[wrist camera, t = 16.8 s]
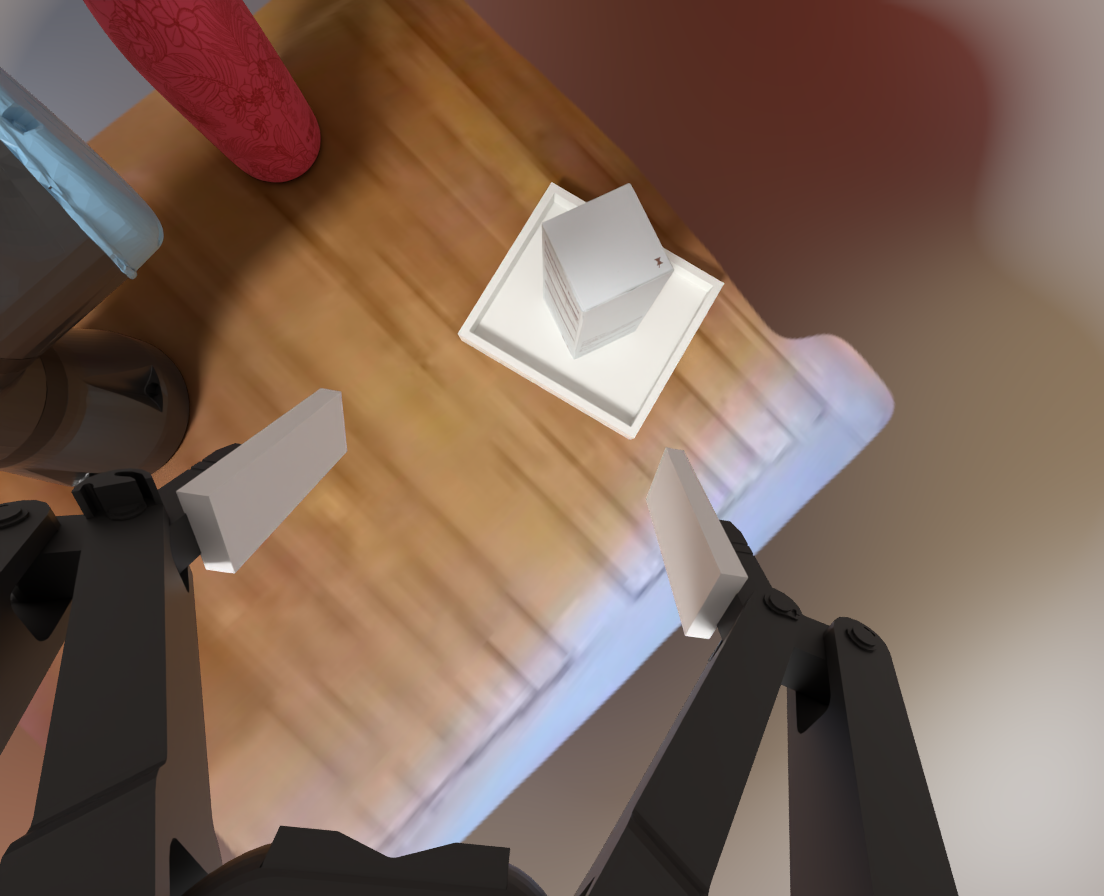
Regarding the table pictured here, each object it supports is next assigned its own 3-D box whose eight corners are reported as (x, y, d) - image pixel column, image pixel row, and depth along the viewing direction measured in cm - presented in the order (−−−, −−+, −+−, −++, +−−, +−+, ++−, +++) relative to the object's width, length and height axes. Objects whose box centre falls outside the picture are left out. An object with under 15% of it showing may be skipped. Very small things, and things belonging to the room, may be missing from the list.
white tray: (462, 340, 40) (457, 334, 38) (551, 195, 41) (551, 182, 39) (629, 439, 40) (634, 438, 38) (715, 292, 41) (724, 283, 39)
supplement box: (605, 268, 40) (633, 178, 28) (636, 332, 40) (679, 271, 28) (540, 297, 40) (539, 219, 28) (571, 362, 40) (583, 314, 27)
